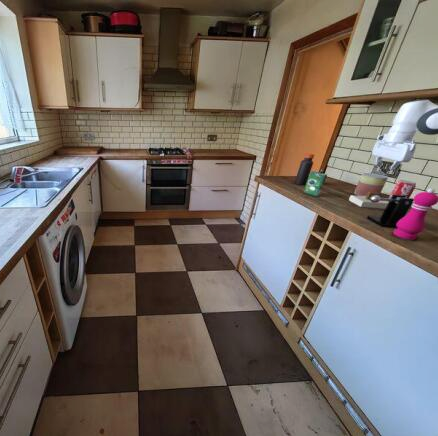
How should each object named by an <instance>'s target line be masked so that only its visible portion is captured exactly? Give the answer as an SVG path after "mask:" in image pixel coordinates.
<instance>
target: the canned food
mask: <svg viewBox="0 0 438 436" xmlns="http://www.w3.org/2000/svg"><path fill="white" fill-rule="evenodd" d="M388 179H389V176H387V175H383V174H378V173H373V172H371V173H370V172H363V173H361V176H360V178H359V180H358V183H357V185H356V187H355V190H354V192H353V194H354V195H355V196H366V195H367V193H368V192H372V193H380V194H381V193H382V190H383V188H384V187H385V184H386V183H387V180H388Z"/></svg>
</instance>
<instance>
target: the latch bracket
mask: <svg viewBox="0 0 438 436" xmlns="http://www.w3.org/2000/svg"><path fill="white" fill-rule="evenodd" d="M397 197H404V198H400V200H399V201H398V203H395V202H392V201H389V203H388V205H387V207H386V208H385V209H384V210H383V212H382V214H381V216H375V215H367V217H366V219H368V220H369V221H371V222H373V223H374V224H376V225H377V226H379V227H381V228H389V229H390V228H391V229H398V228H397V226H396V224H397V222H398V221H399V220H400V219H402V218H403V217H404V216H406V215H407V214H408V212H409V211H410V208H411V206H412V205H413V203H414V197H413V198H412V197H410V198H405V197H406V196H405V195H394V194H393V195H392V197H391V199H396V198H397Z"/></svg>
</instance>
